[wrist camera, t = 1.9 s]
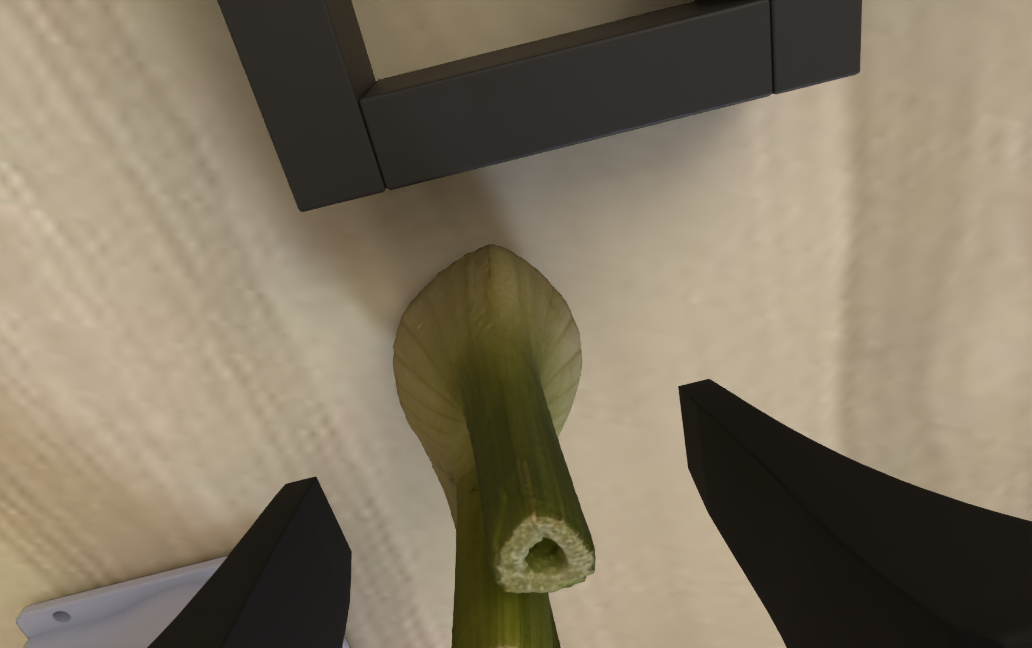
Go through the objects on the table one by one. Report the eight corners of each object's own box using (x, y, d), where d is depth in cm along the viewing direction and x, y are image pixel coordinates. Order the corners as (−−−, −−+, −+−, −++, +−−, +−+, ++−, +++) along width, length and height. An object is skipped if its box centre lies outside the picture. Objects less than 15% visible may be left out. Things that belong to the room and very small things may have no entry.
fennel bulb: (455, 194, 17) (487, 506, 6) (606, 275, 18) (843, 637, 8) (364, 365, 19) (265, 830, 8) (507, 425, 20) (586, 884, 10)
